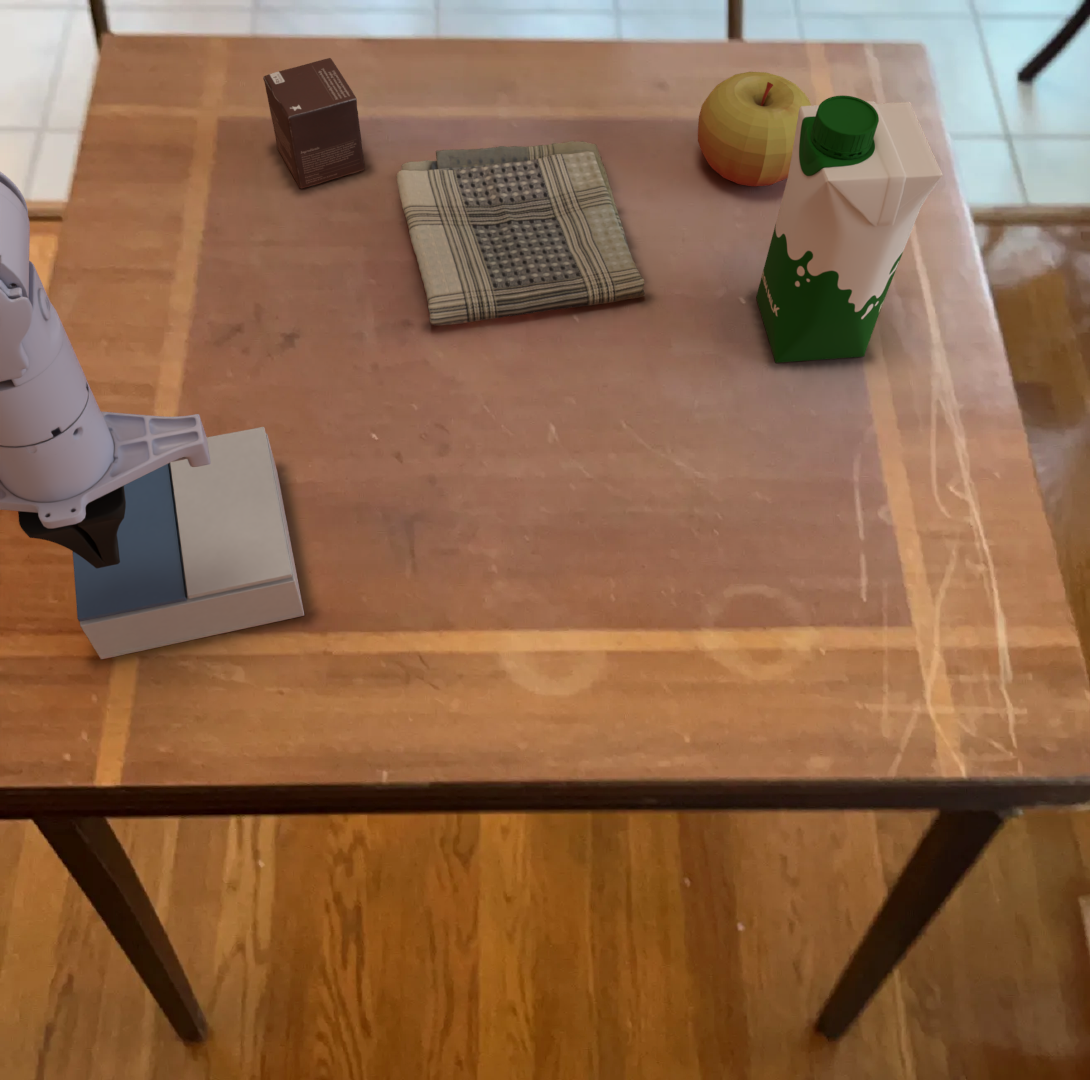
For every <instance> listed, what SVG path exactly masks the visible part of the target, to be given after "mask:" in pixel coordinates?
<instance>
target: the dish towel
mask: <svg viewBox="0 0 1090 1080" xmlns="http://www.w3.org/2000/svg"><path fill="white" fill-rule="evenodd" d="M599 151H600V150H599V148H598V145H597V144H596V143H590V142H587V141H583V140H580V141H573V140H570V141H566V142H554V143H550V144H539V145H528V146H522V145H521V146H519V145H518V146H517V145H513V146H511V145H510V146H505V145H499V146H496V147H486V148H483V147H482V148H472V149H471V148H470V149H441V150H436V151H435V158H436V160H429V159H427V160H426V159H424V160H421V161H420V160H419V161H407V162H405V163H403V164H401V168H400V169H401V170H399V171H397V174H396V184H397V189H398V194H399V200H400V202H401V209H402V211H403V214H404V217H405V220H406V223H407V227H408V231H409V232H408V234H409V237H410V243H411V245H412V247H413V252H414V253H413V254H414V255H415V257H416V262H417V265H418V270H419V272H420V275H421V281H422V283H423V289H424V292H425V295H426V301H427V305H428V306H427V310H428V312H429V313H428V314H429V318H428V319H429V324H430V325H432V326H450V325H460V324H467V323H471V322H479V321H485V320H487V321H488V320H495V319H500V318H506V317H513V316H521V315H531V314H535V313H543V312H546V311H555V310H562V309H564V310H566V309H571V308H580V307H586V306H593V305H601V304H608V303H615V302H619V301H626V300H629V299H638V298H642V297H645V295H646V292H645V289H644V286H645V279H644V278H643V276H642V275H641V274H640V271H639V269H638V267H637V265H636V263H635V261H634V259H633V256H632V253H631V250H630V247H629V243H628V240H627V237H626V233H625V229H624V227H623V224H622V220H621V218H620V214H619V211H618V208H617V204H616V201H615V198H614V194H613V190H612V188H611V187H612V186H611V185H610V180H609V178H608V173H607V171H606V168H605V165H604V163H603V161H602V157H601V155H600V152H599Z"/></svg>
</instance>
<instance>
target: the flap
mask: <svg viewBox="0 0 1090 1080" xmlns="http://www.w3.org/2000/svg"><path fill="white" fill-rule="evenodd" d="M124 491H125V500H126V509H125V516H124V519H123V520H122V522H121V523H120V526H119V528H118V532H117V539H118V548H119V557H120V563H119V564H116V565H111V566H107V567H102V568H95V567H94V566H93V565H91V564H90V563H89V562H88V561H86V560H85V559H84V558H82V557H81V556H79V555H78V554H76V553H75V552H73V551H72V562H73V563H72V564H73V575H74V577H73V578H74V590H75V605H76V606H75V607H76V617H77V620H78V622H79V623H80V622H81V621H86V620H91V619H96V618H101V617H106V616H111V615H116V614H121V613H126V612H131V611H136V610H141V609H146V608H151V607H156V606H161V605H166V604H172V603H177V602H182V601H186V592H185V584H184V577H183V569H182V561H181V554H180V546H179V538H178V531H177V523H176V515H175V508H174V500H173V492H172V484H171V477H170V469H169V463H168V464H166V465H164V466H162V467H160V468H158V469H156V470H154V471H152V472H150V473H148V474H146V475H144V476H142V477H140V478H138V479H136V480H134V481H132V482H130V483H128V484H126V485H124Z"/></svg>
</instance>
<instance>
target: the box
mask: <svg viewBox="0 0 1090 1080" xmlns="http://www.w3.org/2000/svg"><path fill="white" fill-rule="evenodd" d="M262 78H263V83H264V87H265V92H266V97H267V103H268V106H269V111H270V117H271V122H272V126H273V131H274V137H275V142H276V148H277V150H278V152H279V153H280V155H281V157H282V159H283V161H284V163H285V164H286V166H287V168H288V169H289V172H290V173H291V175H292V176H293V179H294V180H295V182H296V183H297V186H298V187H299V188H300V189H305V188H308V187H312V186H315V185H320V184H322V183H325V182H329V181H332V180H335V179H338V178H341V177H345V176H348V175H353V174H356V173H359V172H363V171H364V170H365V168H366V166H365V160H364V158H365V157H364V150H363V143H362V142H363V141H362V134H361V127H360V117H359V110H358V100H357V97H356V94H355V93H354V92H353V90H352V88H351V87H350V86H349V84H348V82H347V81H346V79H345V77H344V76H343V75H342V72H341V71H340V69H339V68H338V67H337V65H336V63H335V62H334V61H333V59H332V58H331V57H328V58H324V59H320V60H316V61H313V62H309V63H305V64H302V65H298V66H294V67H291V68H287V69H283V70H277V71H274V72H271V73H269V74H266V75H263V76H262Z"/></svg>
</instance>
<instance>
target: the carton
mask: <svg viewBox="0 0 1090 1080" xmlns="http://www.w3.org/2000/svg"><path fill="white" fill-rule="evenodd" d="M206 437H207V443H208V448H209V454H210V461H211V464H209V465H204V466H199V467H191V466H190V465H189V462H188V460H187V459H184V460H179V461H174V462H170V463H169V469H170V477H171V484H172V492H173V500H174V508H175V515H176V523H177V531H178V538H179V546H180V554H181V561H182V569H183V577H184V584H185V592H186V601H182V602H177V603H172V604H166V605H161V606H156V607H151V608H146V609H141V610H136V611H131V612H126V613H121V614H116V615H111V616H106V617H101V618H96V619H91V620H86V621H81V622H79V626H80V629H81V630H82V631H83V633H84V635H85V636H86V638H87V639H88V641H89V643H90V644H91V646H92V647H93V649H94V651H95V652H96V654H97V656H98V657H99V659H100V660H105V659H110V658H115V657H119V656H123V655H124V656H125V655H129V654H133V653H138V652H143V651H147V650H151V649H157V648H160V647H166V646H170V645H175V644H179V643H185V642H189V641H194V640H198V639H203V638H208V637H211V636H216V635H221V634H226V633H230V632H235V631H240V630H245V629H249V628H254V627H258V626H259V627H260V626H263V625H268V624H272V623H276V622H281V621H286V620H291V619H295V618H300V617H304V616H305V611H304V605H303V601H302V595H301V591H300V584H299V579H298V574H297V568H296V565H295V564H296V563H295V558H294V553H293V547H292V542H291V537H290V531H289V527H288V521H287V516H286V510H285V505H284V500H283V494H282V489H281V484H280V478H279V473H278V469H277V466H276V461H275V458H274V454H273V451H272V446H271V442H270V439H269V435H268V433H267V432H266V428H265V427H264V426H261V427H255V428H249V429H244V430H238V431H233V432H227V433H222V434H218V435H212V436H206Z"/></svg>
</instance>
